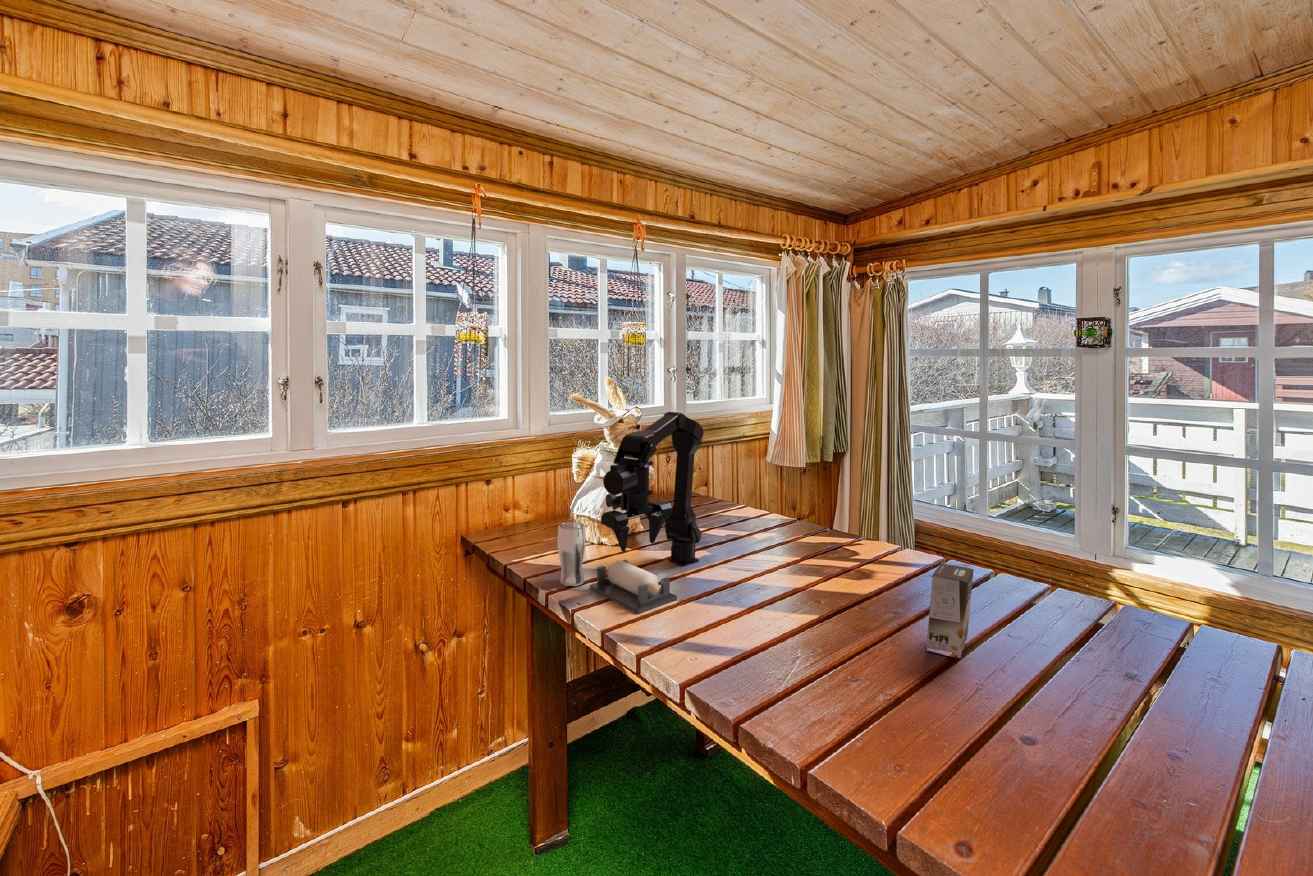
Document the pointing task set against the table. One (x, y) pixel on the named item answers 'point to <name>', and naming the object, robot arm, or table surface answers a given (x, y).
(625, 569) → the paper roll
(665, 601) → the roll stand
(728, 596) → the table surface
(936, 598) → the coffee box
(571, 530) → the beer glass
